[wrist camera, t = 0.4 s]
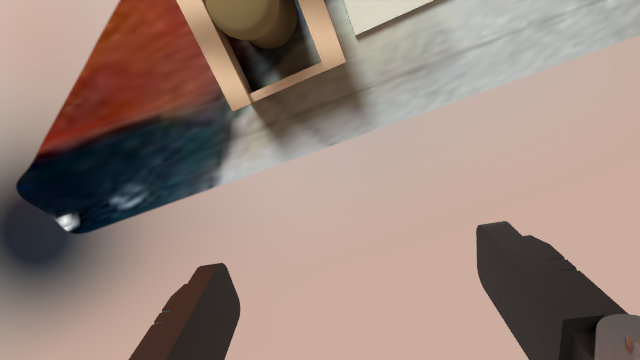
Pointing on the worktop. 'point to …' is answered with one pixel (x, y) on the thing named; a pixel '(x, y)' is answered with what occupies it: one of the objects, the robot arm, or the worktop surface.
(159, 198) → the worktop surface
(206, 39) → the open rectangular wooden frame
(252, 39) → the cork
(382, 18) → the cream mat
